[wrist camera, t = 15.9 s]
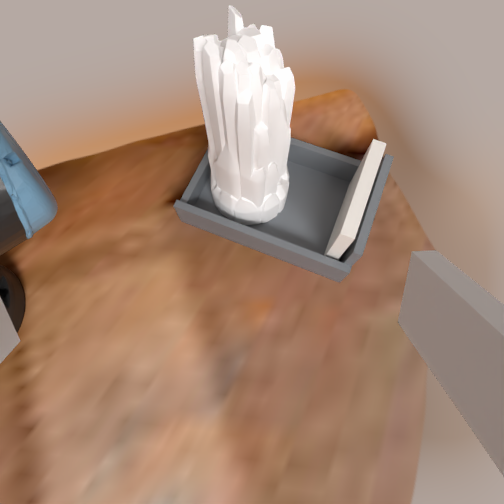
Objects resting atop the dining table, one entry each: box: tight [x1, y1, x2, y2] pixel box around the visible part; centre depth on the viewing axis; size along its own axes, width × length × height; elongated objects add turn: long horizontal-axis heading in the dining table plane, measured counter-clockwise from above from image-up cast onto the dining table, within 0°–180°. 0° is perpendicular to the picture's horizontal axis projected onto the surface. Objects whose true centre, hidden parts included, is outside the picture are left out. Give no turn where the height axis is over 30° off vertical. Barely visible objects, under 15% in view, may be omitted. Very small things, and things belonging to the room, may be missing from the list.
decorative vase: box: [193, 5, 295, 225], centre depth 36 cm, size 11×11×25 cm
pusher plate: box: [324, 139, 386, 260], centre depth 41 cm, size 2×13×10 cm, turn 158°
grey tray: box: [174, 138, 393, 283], centre depth 44 cm, size 24×16×9 cm, turn 68°
